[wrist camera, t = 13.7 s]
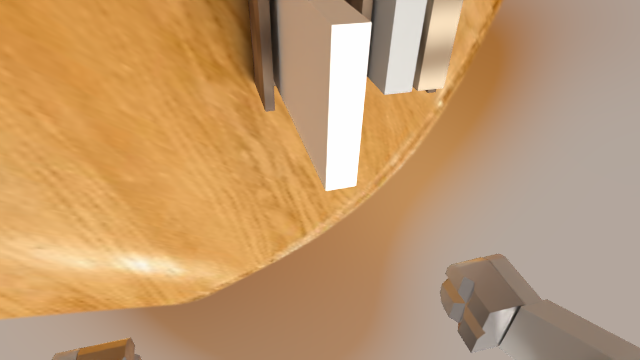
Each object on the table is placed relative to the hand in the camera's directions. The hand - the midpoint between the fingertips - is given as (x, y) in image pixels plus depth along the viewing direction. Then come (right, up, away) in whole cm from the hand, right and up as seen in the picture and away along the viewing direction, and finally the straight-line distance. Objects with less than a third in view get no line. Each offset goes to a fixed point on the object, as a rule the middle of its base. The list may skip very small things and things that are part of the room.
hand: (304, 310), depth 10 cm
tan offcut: (+9, +23, +36) cm, 43 cm away
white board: (-4, +20, +33) cm, 39 cm away
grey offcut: (+6, +22, +35) cm, 42 cm away
